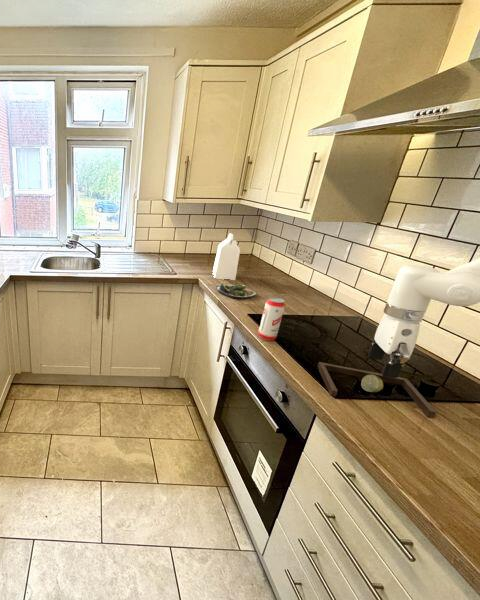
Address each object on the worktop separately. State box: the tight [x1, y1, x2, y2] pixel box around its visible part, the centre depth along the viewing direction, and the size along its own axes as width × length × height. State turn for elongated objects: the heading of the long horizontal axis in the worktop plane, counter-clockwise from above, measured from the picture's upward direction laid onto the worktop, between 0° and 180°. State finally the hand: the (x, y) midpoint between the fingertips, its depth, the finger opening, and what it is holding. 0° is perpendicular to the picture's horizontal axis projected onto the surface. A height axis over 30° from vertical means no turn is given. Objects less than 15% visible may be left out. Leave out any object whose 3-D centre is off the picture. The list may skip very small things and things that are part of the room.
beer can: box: [257, 296, 286, 342], centre depth 119 cm, size 6×6×16 cm
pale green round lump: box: [360, 375, 384, 393], centre depth 92 cm, size 4×5×5 cm
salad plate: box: [214, 283, 257, 300], centre depth 167 cm, size 19×18×5 cm
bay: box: [316, 361, 437, 419], centre depth 93 cm, size 22×16×2 cm
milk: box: [212, 233, 241, 281], centre depth 189 cm, size 12×12×26 cm
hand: (381, 367), depth 90 cm, fingers open, 9 cm apart
